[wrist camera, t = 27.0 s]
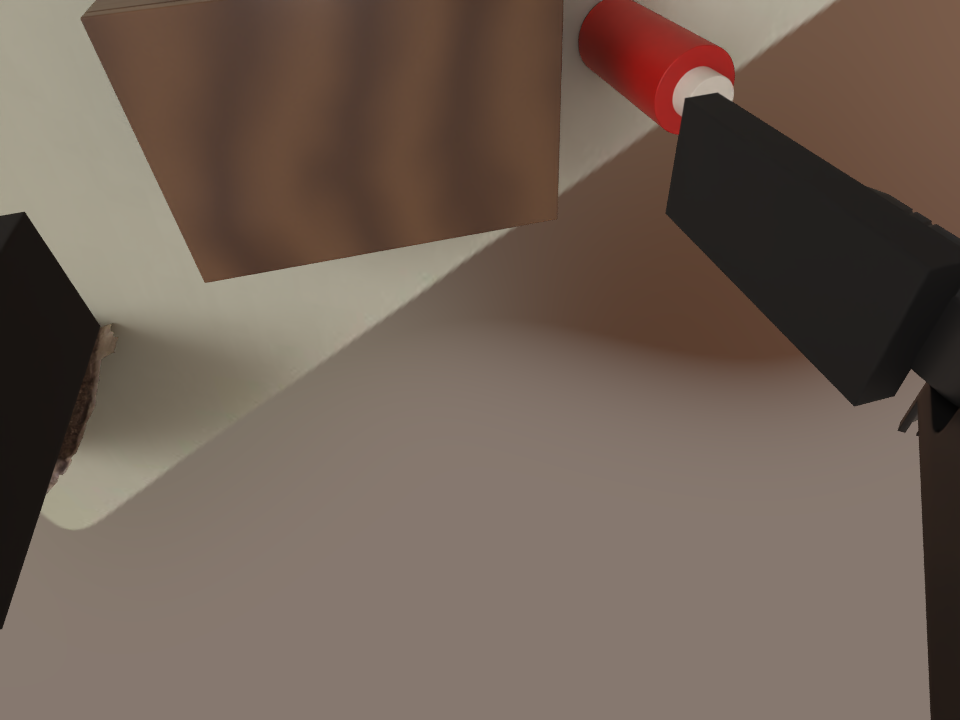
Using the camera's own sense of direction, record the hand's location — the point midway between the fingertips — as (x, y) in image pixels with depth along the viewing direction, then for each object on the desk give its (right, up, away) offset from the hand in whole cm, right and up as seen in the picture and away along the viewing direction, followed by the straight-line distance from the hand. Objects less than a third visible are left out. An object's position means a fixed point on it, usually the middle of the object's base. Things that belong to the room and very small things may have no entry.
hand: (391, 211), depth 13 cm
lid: (-4, +9, +18) cm, 20 cm away
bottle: (+11, +18, +27) cm, 34 cm away
